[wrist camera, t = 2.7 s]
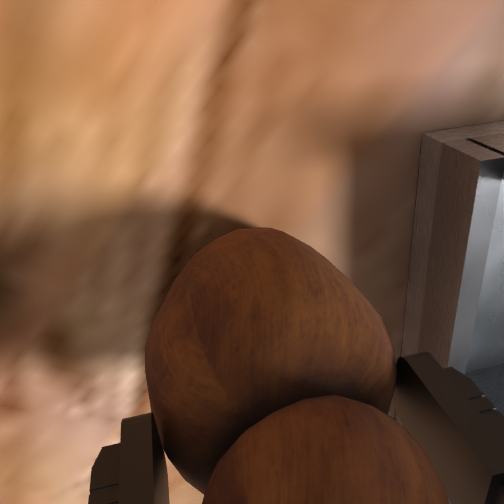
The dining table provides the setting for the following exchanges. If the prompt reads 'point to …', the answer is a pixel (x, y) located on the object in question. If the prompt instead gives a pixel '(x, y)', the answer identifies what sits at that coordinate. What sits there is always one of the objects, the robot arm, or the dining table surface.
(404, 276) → the dining table surface
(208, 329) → the wooden figurine
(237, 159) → the dining table surface
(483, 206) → the grey shelf
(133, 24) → the dining table surface
